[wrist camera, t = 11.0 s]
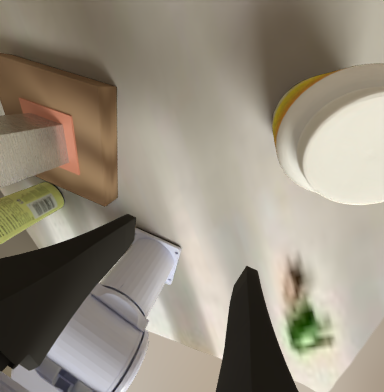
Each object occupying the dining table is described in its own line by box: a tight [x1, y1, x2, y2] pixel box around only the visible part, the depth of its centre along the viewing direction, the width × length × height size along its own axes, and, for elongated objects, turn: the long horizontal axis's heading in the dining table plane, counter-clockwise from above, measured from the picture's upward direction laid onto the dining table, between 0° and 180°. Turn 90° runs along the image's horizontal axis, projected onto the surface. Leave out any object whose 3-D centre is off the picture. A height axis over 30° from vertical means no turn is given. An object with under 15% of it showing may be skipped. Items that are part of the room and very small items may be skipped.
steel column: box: [0, 113, 69, 188], centre depth 18 cm, size 4×4×7 cm
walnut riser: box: [0, 53, 118, 206], centre depth 22 cm, size 14×14×3 cm
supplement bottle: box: [272, 63, 384, 205], centre depth 10 cm, size 6×6×10 cm
